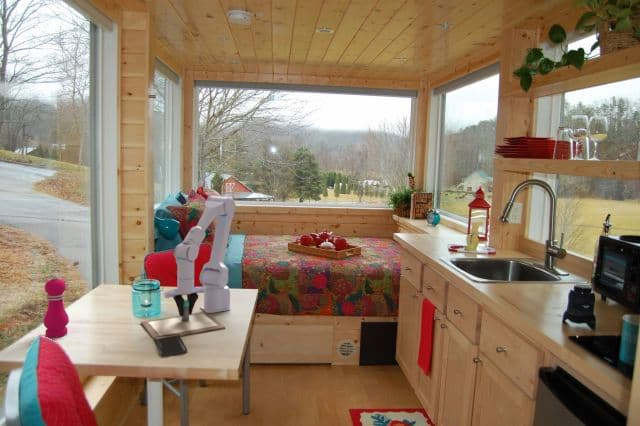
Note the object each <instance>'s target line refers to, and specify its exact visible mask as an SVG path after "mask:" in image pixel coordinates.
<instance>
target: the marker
mask: <svg viewBox="0 0 640 426" xmlns="http://www.w3.org/2000/svg"><path fill="white" fill-rule="evenodd" d="M189 306H190V301H189V300H187V299H184V304H183V316H182V321H188V320H189Z"/></svg>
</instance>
